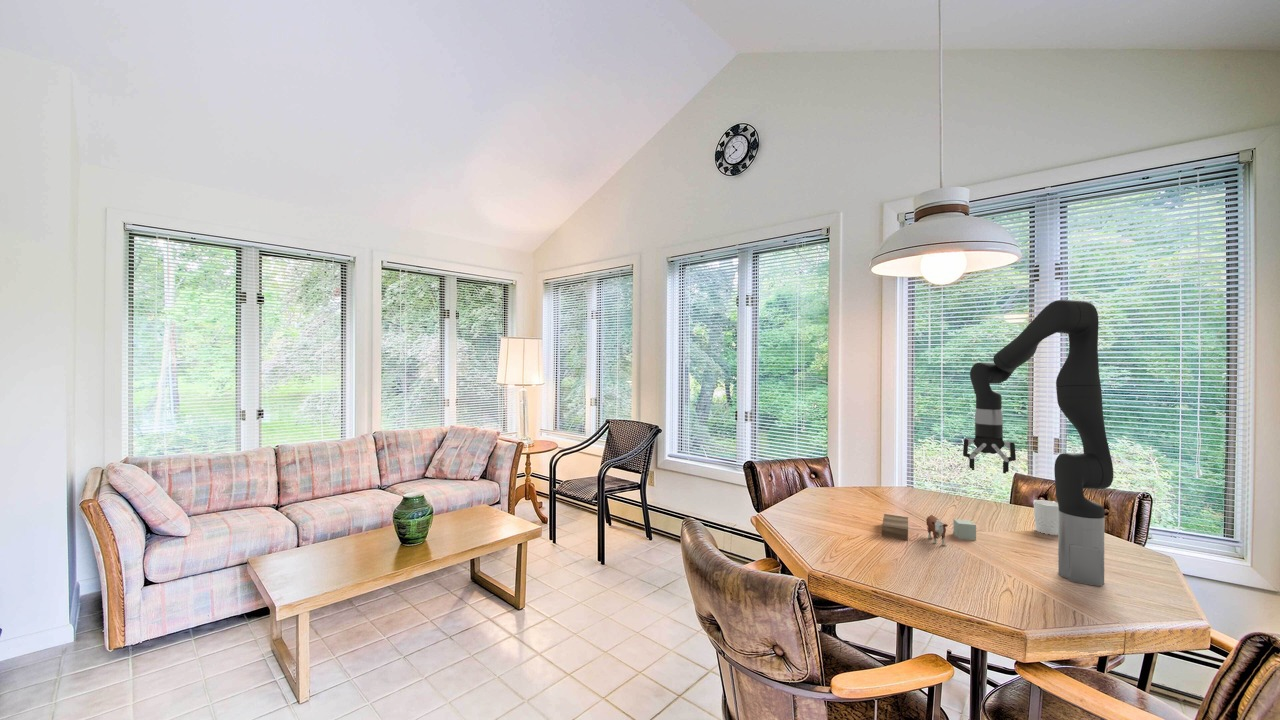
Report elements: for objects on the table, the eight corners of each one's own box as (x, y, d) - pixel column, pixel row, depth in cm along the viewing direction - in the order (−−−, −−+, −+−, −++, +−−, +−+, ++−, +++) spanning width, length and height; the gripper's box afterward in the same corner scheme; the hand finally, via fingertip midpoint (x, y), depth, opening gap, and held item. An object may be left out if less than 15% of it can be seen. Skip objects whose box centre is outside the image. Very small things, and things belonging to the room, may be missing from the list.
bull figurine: (933, 548, 153) (933, 522, 153) (924, 534, 166) (924, 510, 166) (949, 550, 152) (949, 523, 152) (939, 536, 164) (939, 511, 164)
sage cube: (976, 540, 161) (976, 525, 161) (958, 538, 163) (958, 523, 163) (970, 535, 166) (970, 520, 166) (953, 533, 167) (953, 519, 167)
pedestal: (907, 541, 160) (907, 529, 160) (882, 537, 164) (882, 525, 164) (908, 528, 173) (908, 517, 173) (884, 525, 177) (884, 513, 177)
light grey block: (1028, 530, 172) (1028, 501, 172) (1041, 527, 175) (1041, 498, 175) (1055, 537, 164) (1055, 507, 165) (1068, 534, 168) (1068, 504, 168)
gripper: (963, 422, 165) (963, 470, 165) (1016, 425, 158) (1016, 476, 157) (962, 420, 172) (962, 467, 171) (1014, 423, 164) (1014, 472, 164)
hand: (988, 471), depth 164 cm, fingers open, 8 cm apart
